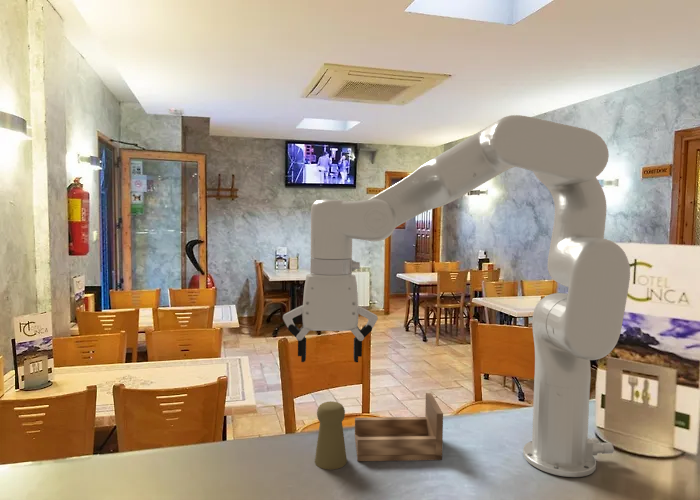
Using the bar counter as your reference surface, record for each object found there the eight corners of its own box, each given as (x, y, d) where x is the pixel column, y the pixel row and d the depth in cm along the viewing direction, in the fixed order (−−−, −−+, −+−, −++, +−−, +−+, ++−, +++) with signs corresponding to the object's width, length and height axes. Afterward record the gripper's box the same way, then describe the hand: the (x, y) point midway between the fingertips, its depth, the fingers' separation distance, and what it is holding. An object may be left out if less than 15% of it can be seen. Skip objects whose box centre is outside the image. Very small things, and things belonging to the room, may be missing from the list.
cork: (343, 471, 87) (343, 411, 86) (310, 467, 88) (310, 408, 87) (349, 455, 93) (350, 399, 92) (319, 451, 94) (319, 396, 93)
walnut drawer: (430, 434, 101) (431, 393, 101) (442, 459, 91) (443, 413, 90) (354, 435, 101) (355, 393, 100) (357, 461, 90) (357, 414, 90)
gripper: (376, 266, 92) (374, 354, 93) (285, 265, 91) (284, 354, 92) (380, 270, 84) (378, 366, 85) (281, 269, 83) (280, 366, 85)
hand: (329, 360), depth 89 cm, fingers open, 9 cm apart
